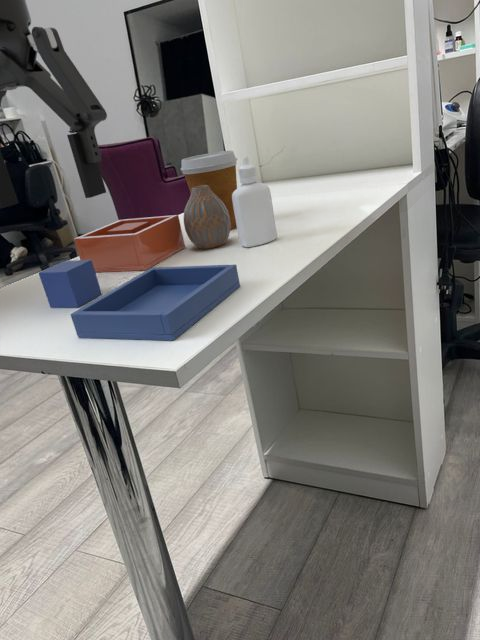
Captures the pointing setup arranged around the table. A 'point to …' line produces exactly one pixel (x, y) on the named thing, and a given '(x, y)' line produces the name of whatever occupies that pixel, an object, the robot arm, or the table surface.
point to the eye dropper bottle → (253, 208)
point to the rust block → (129, 228)
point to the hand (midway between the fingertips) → (50, 201)
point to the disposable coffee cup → (214, 176)
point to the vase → (206, 218)
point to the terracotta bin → (132, 245)
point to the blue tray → (157, 303)
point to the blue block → (70, 284)
